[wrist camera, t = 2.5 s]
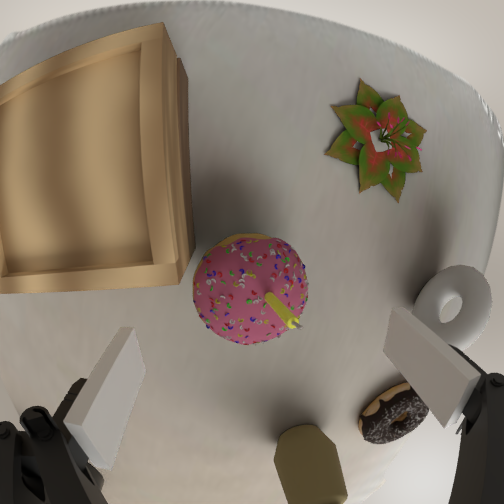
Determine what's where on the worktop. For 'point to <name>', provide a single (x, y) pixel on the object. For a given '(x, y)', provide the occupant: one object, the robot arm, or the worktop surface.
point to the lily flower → (396, 122)
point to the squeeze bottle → (309, 467)
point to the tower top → (93, 169)
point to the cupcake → (250, 288)
